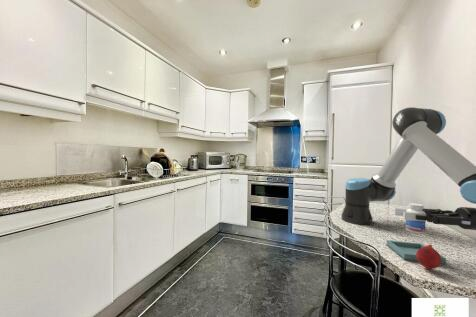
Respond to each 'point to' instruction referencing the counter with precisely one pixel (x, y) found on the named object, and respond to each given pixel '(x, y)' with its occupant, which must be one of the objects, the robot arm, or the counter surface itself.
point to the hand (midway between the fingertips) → (399, 213)
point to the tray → (408, 250)
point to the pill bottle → (415, 225)
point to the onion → (428, 257)
